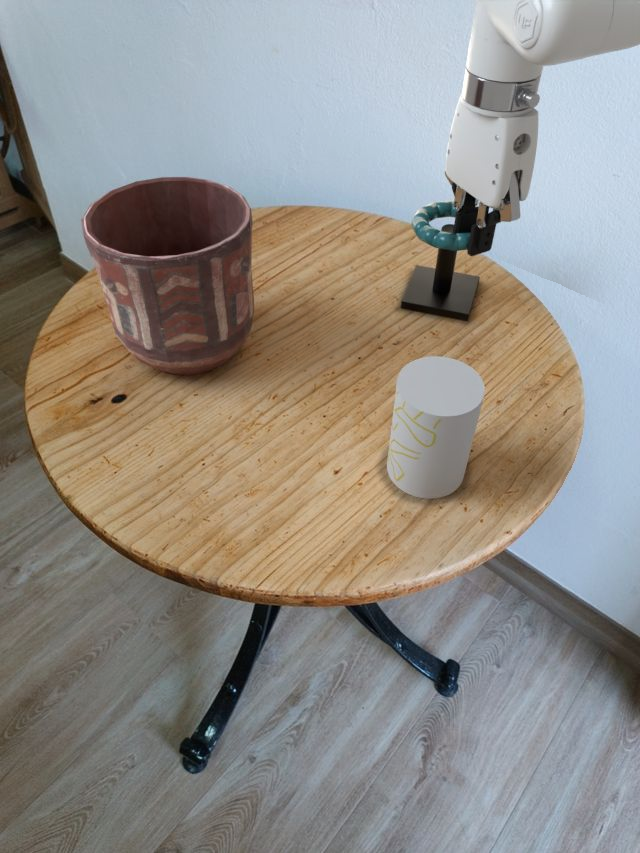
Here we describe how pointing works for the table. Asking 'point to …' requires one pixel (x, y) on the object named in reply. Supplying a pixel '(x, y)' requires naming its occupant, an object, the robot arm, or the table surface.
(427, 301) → the peg stand
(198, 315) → the pottery
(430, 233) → the ring
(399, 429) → the grey cylinder
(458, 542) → the table surface
